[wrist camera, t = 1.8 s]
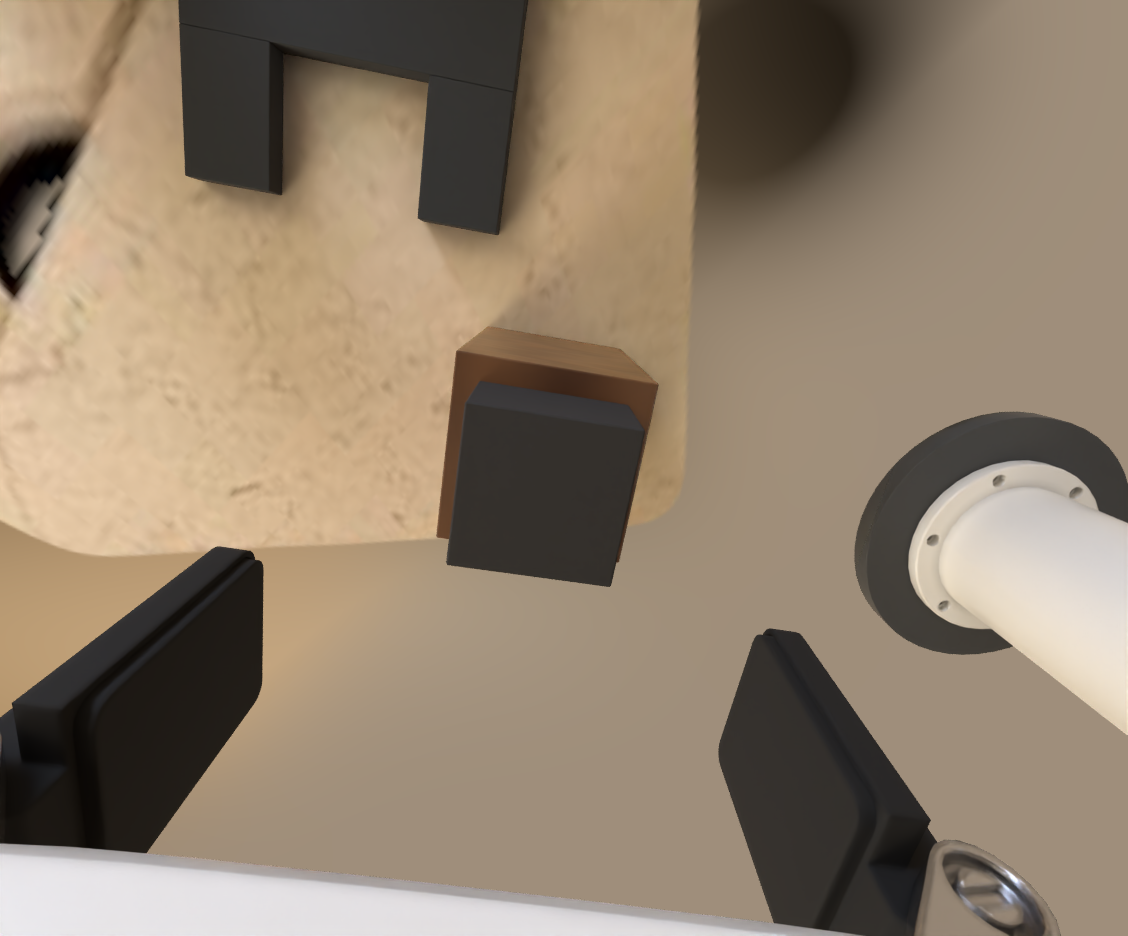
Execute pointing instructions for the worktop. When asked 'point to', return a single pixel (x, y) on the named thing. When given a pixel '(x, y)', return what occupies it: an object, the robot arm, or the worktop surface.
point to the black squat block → (543, 484)
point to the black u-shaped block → (370, 42)
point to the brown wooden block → (541, 387)
